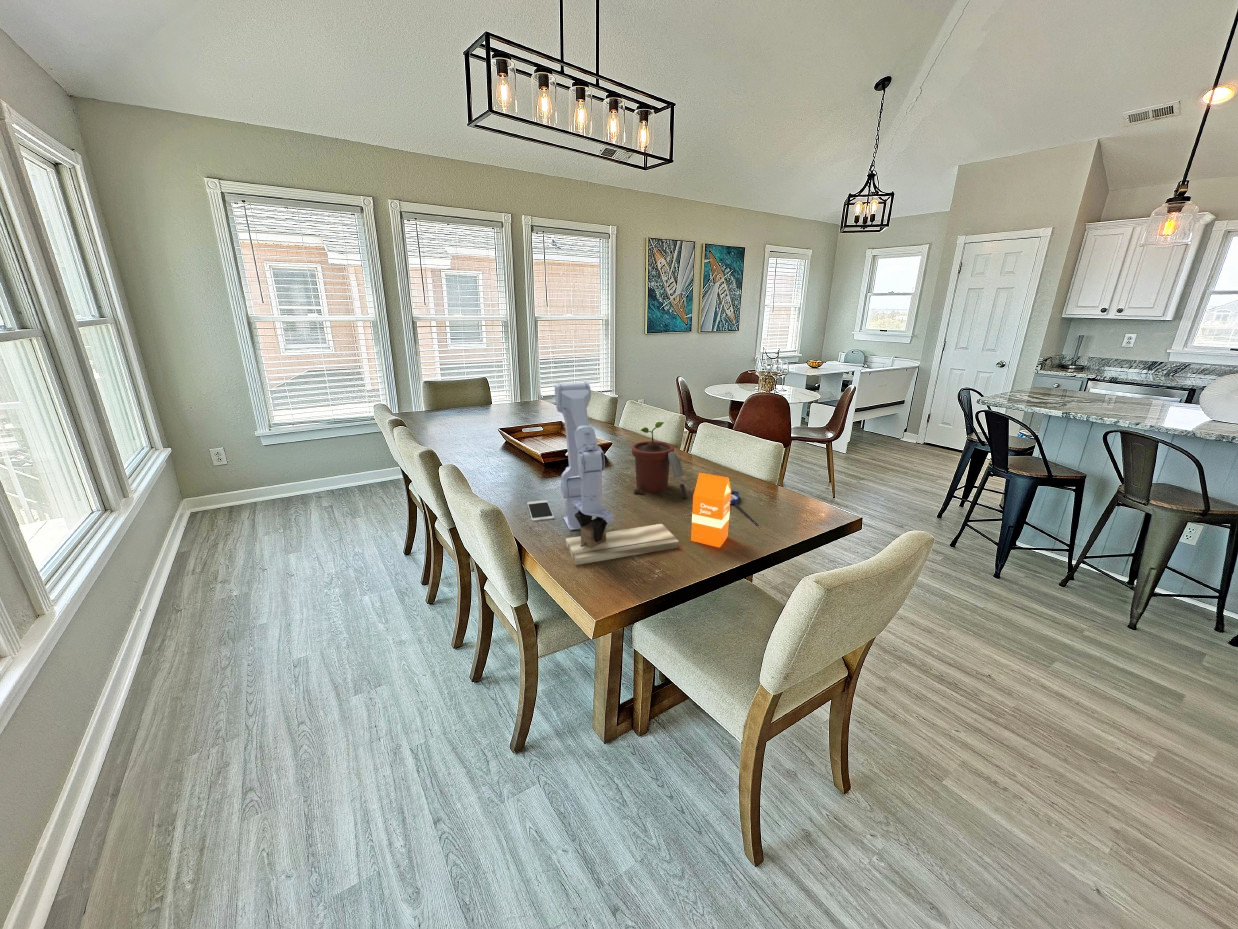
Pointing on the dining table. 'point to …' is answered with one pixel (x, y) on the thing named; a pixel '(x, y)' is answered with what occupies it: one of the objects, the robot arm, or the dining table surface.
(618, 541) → the pine board
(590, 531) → the block
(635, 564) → the dining table surface
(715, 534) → the orange juice
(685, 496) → the potted plant
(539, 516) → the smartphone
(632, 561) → the dining table surface
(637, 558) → the dining table surface
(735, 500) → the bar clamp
